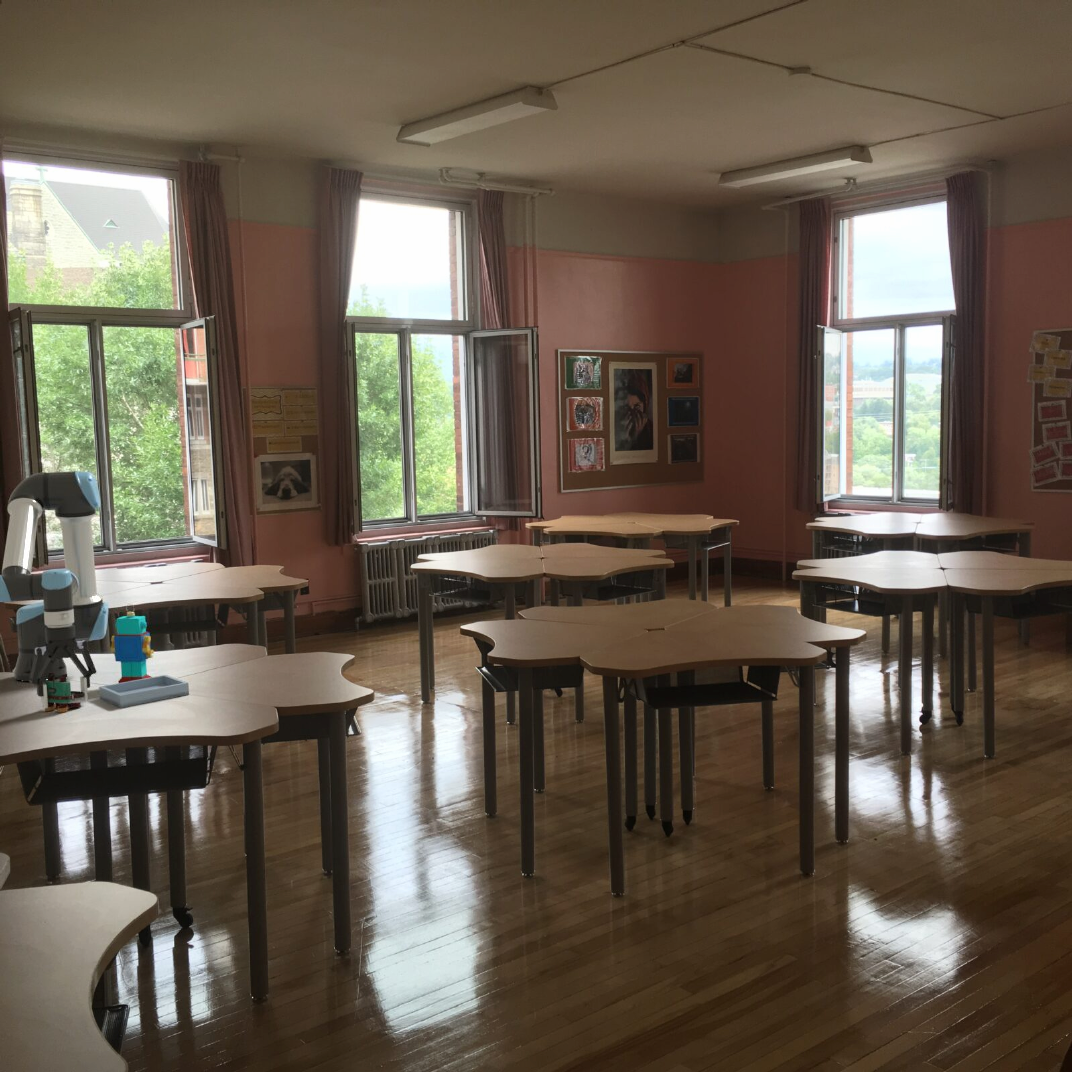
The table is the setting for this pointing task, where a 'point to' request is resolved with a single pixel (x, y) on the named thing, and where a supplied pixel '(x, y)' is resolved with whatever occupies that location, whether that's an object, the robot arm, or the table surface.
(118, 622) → the toy robot
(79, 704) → the binoculars
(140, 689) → the light blue rectangular tray
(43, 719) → the table surface
